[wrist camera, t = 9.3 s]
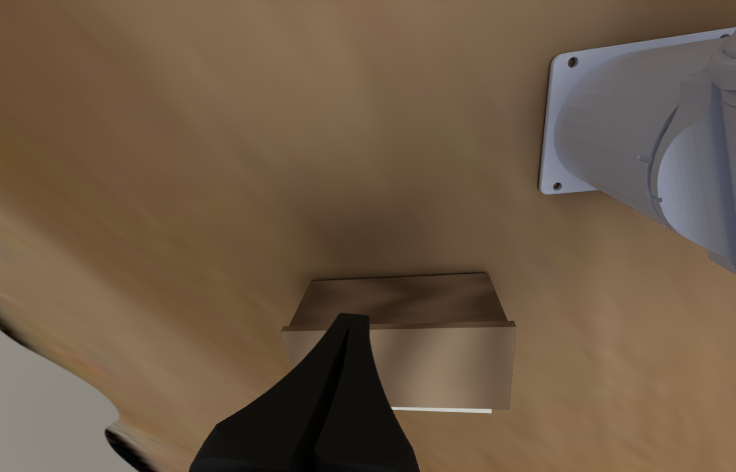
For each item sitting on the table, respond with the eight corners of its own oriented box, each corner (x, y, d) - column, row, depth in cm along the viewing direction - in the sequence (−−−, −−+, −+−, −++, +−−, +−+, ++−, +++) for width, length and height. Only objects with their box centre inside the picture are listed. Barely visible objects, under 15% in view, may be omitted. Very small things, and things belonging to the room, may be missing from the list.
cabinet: (492, 271, 24) (516, 326, 18) (489, 343, 26) (509, 409, 21) (307, 280, 26) (280, 331, 21) (324, 345, 29) (304, 405, 24)
